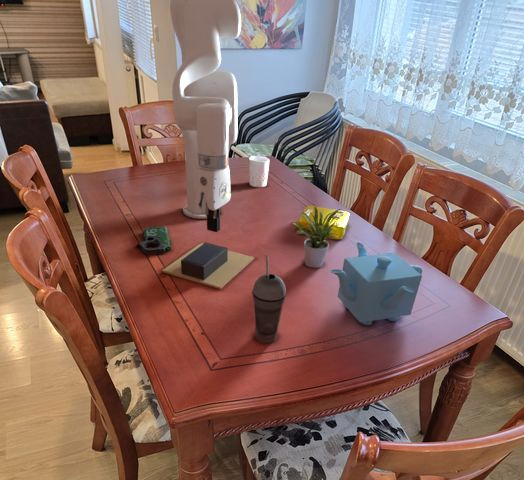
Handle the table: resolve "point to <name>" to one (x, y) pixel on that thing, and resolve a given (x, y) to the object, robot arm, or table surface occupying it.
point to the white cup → (258, 171)
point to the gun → (155, 240)
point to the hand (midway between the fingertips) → (213, 230)
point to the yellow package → (338, 225)
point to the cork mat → (218, 277)
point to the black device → (204, 261)
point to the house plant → (316, 238)
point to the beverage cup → (268, 305)
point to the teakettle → (378, 286)
